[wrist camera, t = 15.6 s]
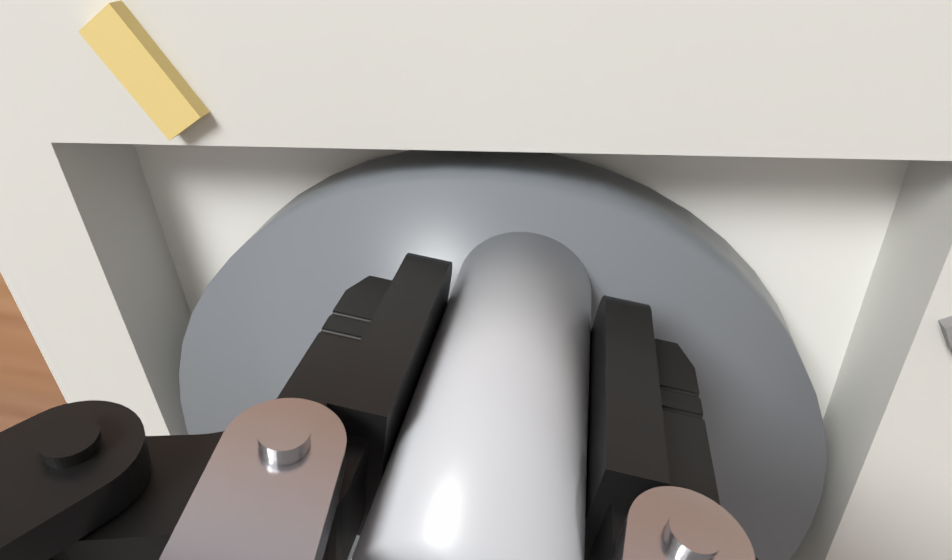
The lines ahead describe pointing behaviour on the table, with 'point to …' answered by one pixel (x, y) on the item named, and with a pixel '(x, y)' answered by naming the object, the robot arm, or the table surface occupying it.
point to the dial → (514, 346)
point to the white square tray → (507, 130)
